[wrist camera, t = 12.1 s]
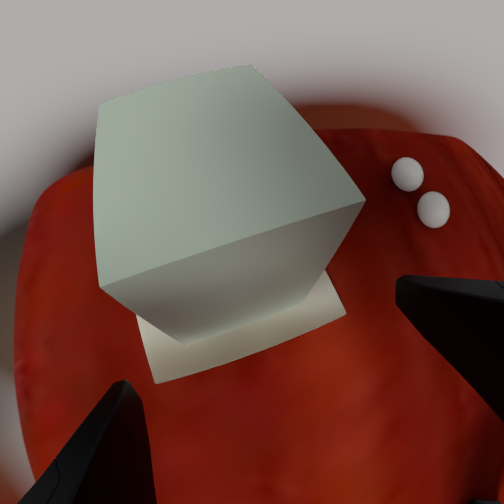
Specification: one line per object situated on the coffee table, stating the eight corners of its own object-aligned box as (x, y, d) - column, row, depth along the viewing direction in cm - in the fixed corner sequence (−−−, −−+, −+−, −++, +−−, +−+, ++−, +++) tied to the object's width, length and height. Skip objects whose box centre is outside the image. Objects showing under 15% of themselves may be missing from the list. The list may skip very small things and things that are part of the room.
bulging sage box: (301, 304, 16) (366, 200, 7) (185, 345, 15) (99, 286, 6) (248, 192, 20) (251, 65, 11) (152, 223, 18) (99, 104, 9)
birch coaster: (343, 315, 16) (346, 313, 16) (158, 383, 14) (155, 383, 14) (269, 175, 21) (270, 170, 21) (122, 221, 19) (119, 216, 18)
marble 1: (416, 184, 22) (430, 163, 19) (411, 203, 20) (427, 182, 18) (390, 167, 22) (402, 145, 20) (382, 186, 21) (396, 162, 18)
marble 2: (440, 217, 20) (457, 197, 17) (435, 241, 19) (454, 221, 16) (414, 199, 21) (430, 178, 18) (408, 222, 20) (425, 200, 17)
